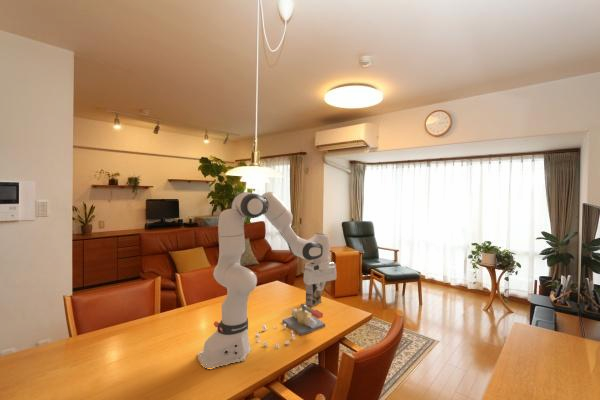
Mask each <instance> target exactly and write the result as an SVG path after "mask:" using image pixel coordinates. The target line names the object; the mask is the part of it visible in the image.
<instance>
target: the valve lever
mask: <svg viewBox="0 0 600 400" xmlns="http://www.w3.org/2000/svg"><path fill="white" fill-rule="evenodd" d="M300 308H303V309H305V310H306V311H308V312H310V315H312V316H313V317H315V318H317V319H318V320H320V319H322V318H323V317H324V313H323V312H322V311H319V310H318V309H314V308H311V306H309V305H307V304H306V303H301V304H300Z"/></svg>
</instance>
